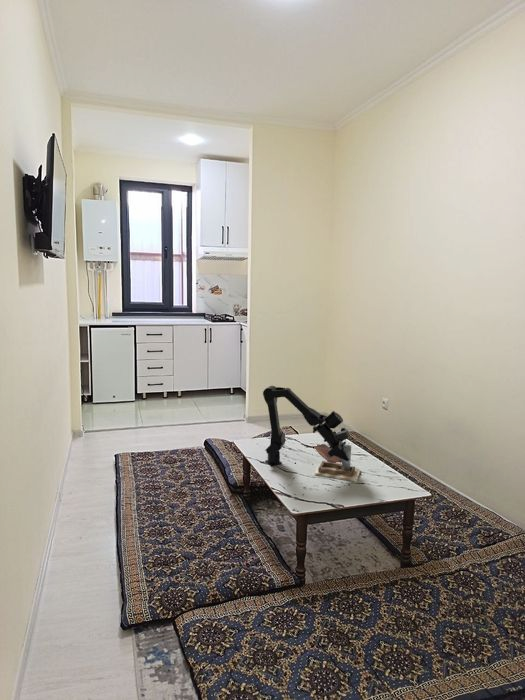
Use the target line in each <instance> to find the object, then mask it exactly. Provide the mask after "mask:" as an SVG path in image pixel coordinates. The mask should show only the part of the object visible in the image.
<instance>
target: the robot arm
mask: <svg viewBox="0 0 525 700" xmlns="http://www.w3.org/2000/svg"><path fill="white" fill-rule="evenodd" d="M262 396H263V398H264V402H265V404H266V406H267V409H268V415H269V416H268V417H269V424H270V429H271V430H270V431H271V435H270V444H269V445H268V447H266V448H265V452H266V454H267V460H264V462H265V463H266V464H268V465H270V466H273V467H274V466H276V465H281V464H283V461H281V460H280V459H281V456H280V455H281V453H280V450H281V449H282V448H283V447H284V446H285V444H286V442H287V439H286V433H283V432H282V431H281V424H280V420H279V411H278V404H277V403H278V398H285V399H287V401H288V402H289V403H290V404H291V405H293V406H294V408H296V410H297V411H298V412H300V413H301V415H302V416H303V419H305V421H306V422H307V424H308V425H309V426H310V427H311V426H312V433H313V434H315V433H316V432H318V434H319V435H320V437H322V438H323V442H324V443H327V444H328V445H329V446H328V447H329V448H330V450H329V451H328V455H329V456H330V457H332V456H337V457H339V458H341V459H343V460H346V461H349V459H348V457H347V456H346V454H345V453H344V451H343V445H347V443H346V442H347V441H346V440H348V439H349V438H350V432H349V429H346V428H345V427H342V428H341V427H340V431H338V432H336V430H333V429H336V428H337V427H338V426H339V425H341V424H342V423H343V422H344V418H342V415H340V414H339V413H337V412H336V411H334V410H333V411H331V413H329V414H328V415H325V414H321V413H320V412H318V411H317V410H316V409H314V408H312V407H310V406H308V404H307V403H305V402H304V401H303V400H302V399H301V398H300V397H299V396H298V395H297V394H296V393H295V392H293V390H292V389H291V388H290V387H280V386H279V387H278V386H277V387H276V386H274V385H269V386H268V387H266V388H265V389H263V391H262Z"/></svg>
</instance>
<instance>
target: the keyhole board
mask: <svg viewBox="0 0 525 700" xmlns="http://www.w3.org/2000/svg"><path fill="white" fill-rule="evenodd" d="M361 469H362V468H361ZM361 469H360V468H356V466H352V465H350V471H347V470H342V463H338V462H337V463H332V462H329V461H327V460H325V461H324V460H322V461H321V462H320V463H319V465H318V467H317V468H316V470H315V472H314V475H315V476H318V475H320V477H325V476H326V478H332V479H338V480H344V481H351V482H354V483H355V482H356V483H357V482H358V479H359V476H360V474H361Z"/></svg>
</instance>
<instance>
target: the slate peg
mask: <svg viewBox="0 0 525 700" xmlns="http://www.w3.org/2000/svg"><path fill="white" fill-rule="evenodd" d="M343 451H344V453H345V454H346V456H347V457H348V459H349V461H346V460H343V459H342V463H341V465H342V470H347V471H350V466H351V455H352V445H350V444H346V445H343Z"/></svg>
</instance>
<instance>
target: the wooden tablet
mask: <svg viewBox="0 0 525 700" xmlns="http://www.w3.org/2000/svg"><path fill="white" fill-rule="evenodd" d="M316 445H317V446H314V445H313V446H314V448H315V449H316V450H317V451H316V450H315V449H314V448H313V449H314V450H315V451H316V452H317V453H319V455H321V456H322V457H323V458H324V459H325V461H326V462H332V463H336V462H337V463H338V462H342V459H341V458H339V457H337V456H332V457H330V456H329V455H328V451H329V450H330V448H329V447H330V446H328V445H327V444H326V443H321V445H320V444H316Z"/></svg>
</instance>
